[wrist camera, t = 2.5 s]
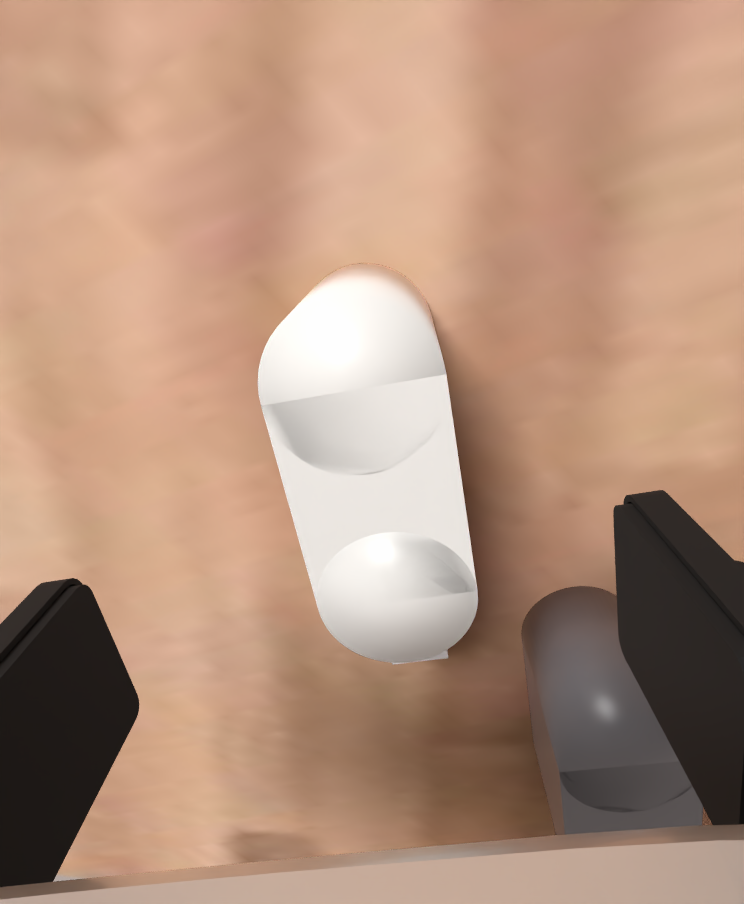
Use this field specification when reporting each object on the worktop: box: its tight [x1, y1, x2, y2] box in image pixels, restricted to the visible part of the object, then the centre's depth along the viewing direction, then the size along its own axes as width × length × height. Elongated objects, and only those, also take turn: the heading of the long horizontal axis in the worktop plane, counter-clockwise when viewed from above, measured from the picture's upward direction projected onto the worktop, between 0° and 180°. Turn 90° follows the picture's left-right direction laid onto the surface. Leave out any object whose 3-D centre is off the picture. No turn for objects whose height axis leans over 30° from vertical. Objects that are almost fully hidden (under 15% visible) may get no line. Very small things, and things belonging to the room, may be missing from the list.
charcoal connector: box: [522, 586, 703, 835], centre depth 18 cm, size 11×4×5 cm, turn 11°
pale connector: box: [258, 263, 478, 664], centre depth 15 cm, size 11×4×5 cm, turn 11°
